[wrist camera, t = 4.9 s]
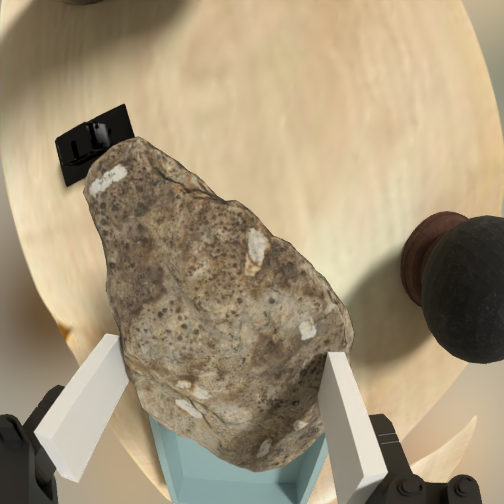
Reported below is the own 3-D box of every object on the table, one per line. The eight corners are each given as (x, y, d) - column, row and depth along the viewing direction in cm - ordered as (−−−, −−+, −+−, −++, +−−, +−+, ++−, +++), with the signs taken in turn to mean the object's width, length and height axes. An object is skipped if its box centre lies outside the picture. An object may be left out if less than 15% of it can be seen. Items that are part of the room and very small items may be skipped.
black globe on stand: (370, 250, 30) (448, 320, 15) (460, 178, 27) (563, 199, 13) (419, 335, 32) (481, 417, 18) (495, 269, 30) (575, 320, 16)
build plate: (62, 197, 29) (37, 203, 25) (46, 138, 28) (21, 137, 23) (158, 153, 28) (141, 152, 24) (139, 88, 26) (120, 77, 22)
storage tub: (159, 353, 34) (142, 388, 27) (333, 364, 33) (346, 401, 27) (179, 473, 41) (172, 503, 35) (300, 481, 41) (302, 511, 34)
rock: (405, 375, 16) (427, 415, 12) (265, 456, 18) (265, 496, 15) (174, 107, 12) (146, 92, 8) (43, 263, 14) (4, 289, 11)
